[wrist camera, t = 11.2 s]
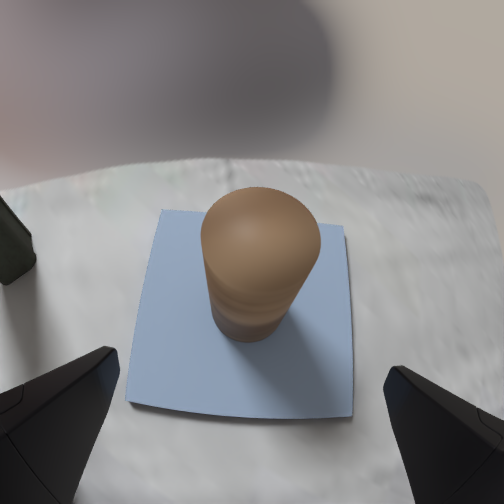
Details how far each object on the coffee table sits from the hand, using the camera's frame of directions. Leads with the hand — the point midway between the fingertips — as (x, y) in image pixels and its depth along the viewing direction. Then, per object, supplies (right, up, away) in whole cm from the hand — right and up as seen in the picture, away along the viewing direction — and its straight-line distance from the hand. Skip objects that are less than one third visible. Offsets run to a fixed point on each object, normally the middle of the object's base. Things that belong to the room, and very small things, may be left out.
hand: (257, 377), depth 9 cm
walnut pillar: (0, 0, +13) cm, 13 cm away
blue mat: (-1, -1, +14) cm, 14 cm away
